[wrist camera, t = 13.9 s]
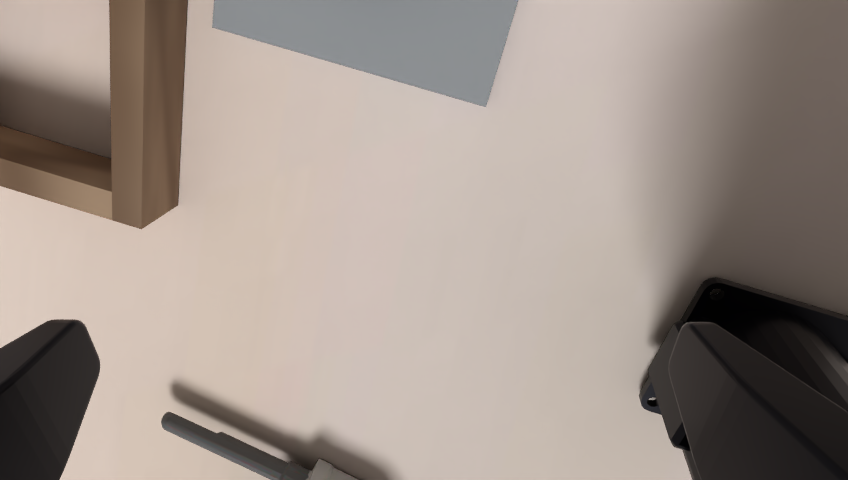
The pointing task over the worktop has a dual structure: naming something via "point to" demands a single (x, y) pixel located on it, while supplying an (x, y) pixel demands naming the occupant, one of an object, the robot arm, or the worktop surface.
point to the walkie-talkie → (248, 453)
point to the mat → (386, 37)
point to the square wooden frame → (119, 126)
